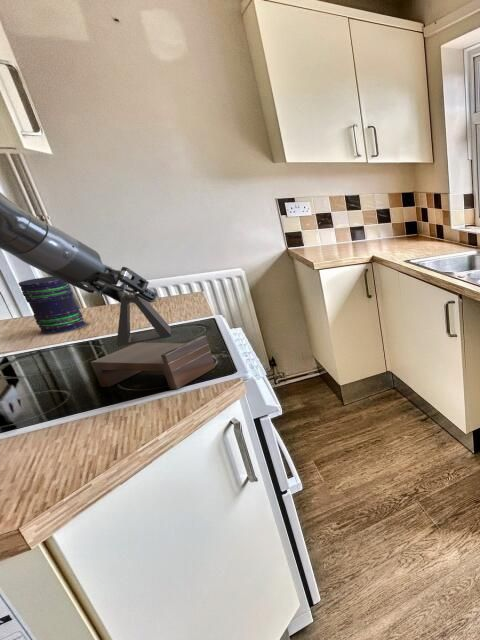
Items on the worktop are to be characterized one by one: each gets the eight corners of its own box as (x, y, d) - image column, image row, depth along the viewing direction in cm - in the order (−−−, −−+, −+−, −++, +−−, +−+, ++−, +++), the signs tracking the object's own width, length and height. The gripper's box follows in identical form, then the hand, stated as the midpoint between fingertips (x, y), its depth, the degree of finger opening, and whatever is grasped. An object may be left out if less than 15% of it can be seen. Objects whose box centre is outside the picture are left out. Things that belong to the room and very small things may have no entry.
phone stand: (117, 346, 87) (94, 290, 82) (120, 338, 91) (99, 284, 87) (171, 336, 92) (152, 282, 87) (171, 329, 96) (154, 277, 92)
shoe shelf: (101, 387, 91) (86, 353, 88) (146, 365, 101) (134, 334, 98) (177, 389, 89) (165, 355, 86) (215, 367, 100) (205, 335, 97)
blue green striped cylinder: (42, 328, 129) (20, 280, 123) (86, 320, 135) (67, 274, 129) (39, 336, 122) (15, 286, 116) (85, 328, 128) (64, 279, 122)
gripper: (101, 235, 76) (176, 283, 91) (30, 236, 77) (116, 283, 92) (82, 270, 73) (163, 314, 88) (9, 271, 74) (101, 314, 89)
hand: (139, 298), depth 90 cm, fingers closed on phone stand, 6 cm apart
